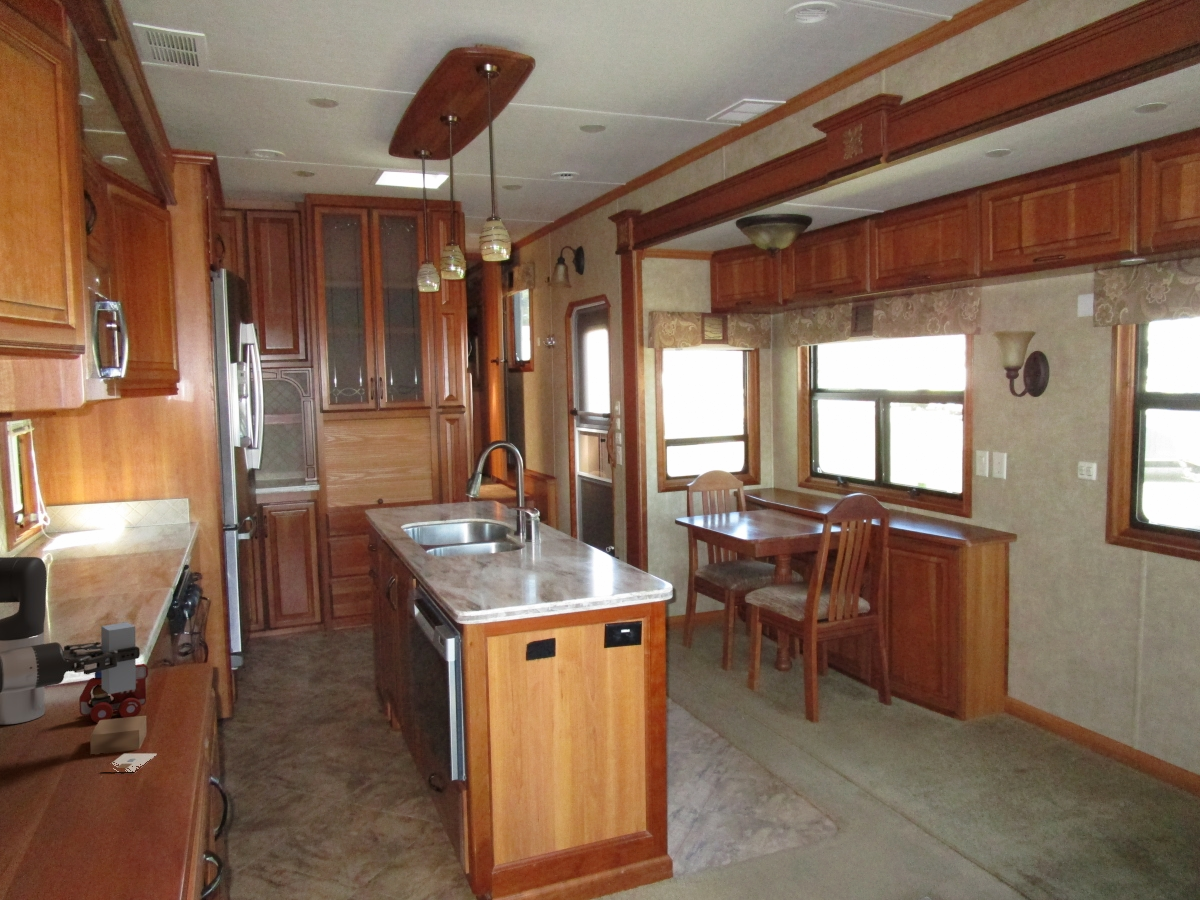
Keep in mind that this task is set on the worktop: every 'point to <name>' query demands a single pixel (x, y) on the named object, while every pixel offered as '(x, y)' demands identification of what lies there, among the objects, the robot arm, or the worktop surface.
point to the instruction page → (132, 761)
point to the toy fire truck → (123, 701)
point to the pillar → (125, 670)
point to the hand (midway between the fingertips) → (133, 649)
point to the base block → (118, 735)
